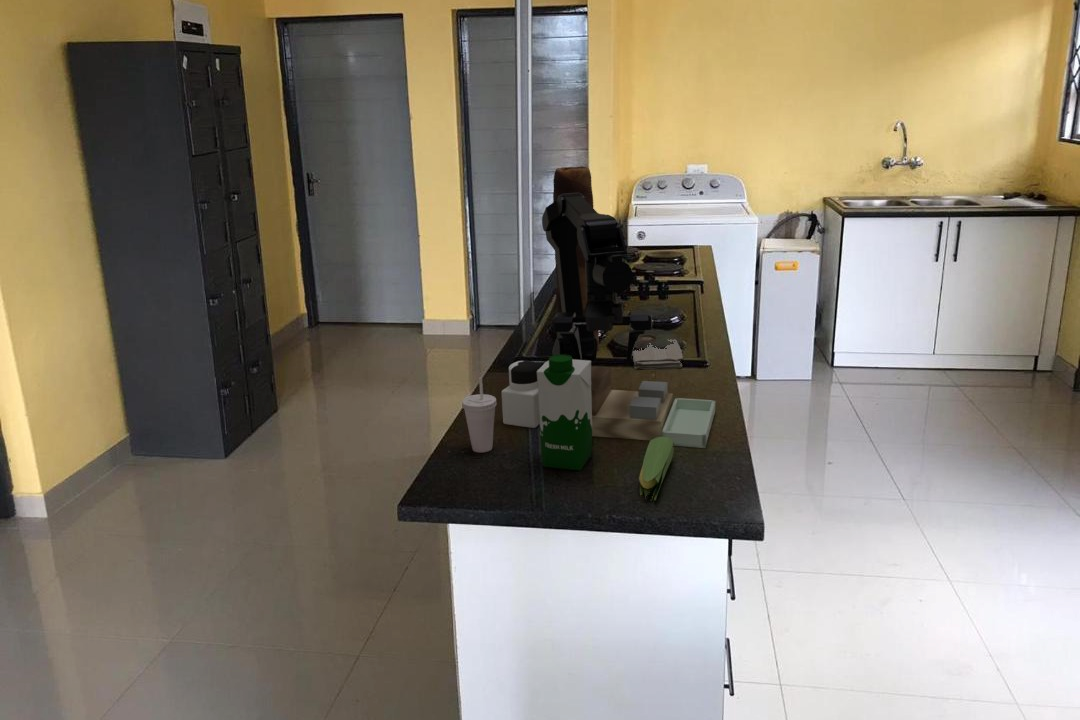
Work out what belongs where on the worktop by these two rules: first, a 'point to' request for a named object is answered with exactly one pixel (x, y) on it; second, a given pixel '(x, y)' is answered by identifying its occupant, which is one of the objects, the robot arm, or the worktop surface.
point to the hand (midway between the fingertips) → (604, 364)
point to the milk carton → (565, 412)
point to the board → (628, 418)
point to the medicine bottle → (521, 395)
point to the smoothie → (480, 419)
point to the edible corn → (655, 464)
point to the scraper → (599, 387)
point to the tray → (689, 422)
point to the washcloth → (658, 357)
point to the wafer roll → (581, 183)
